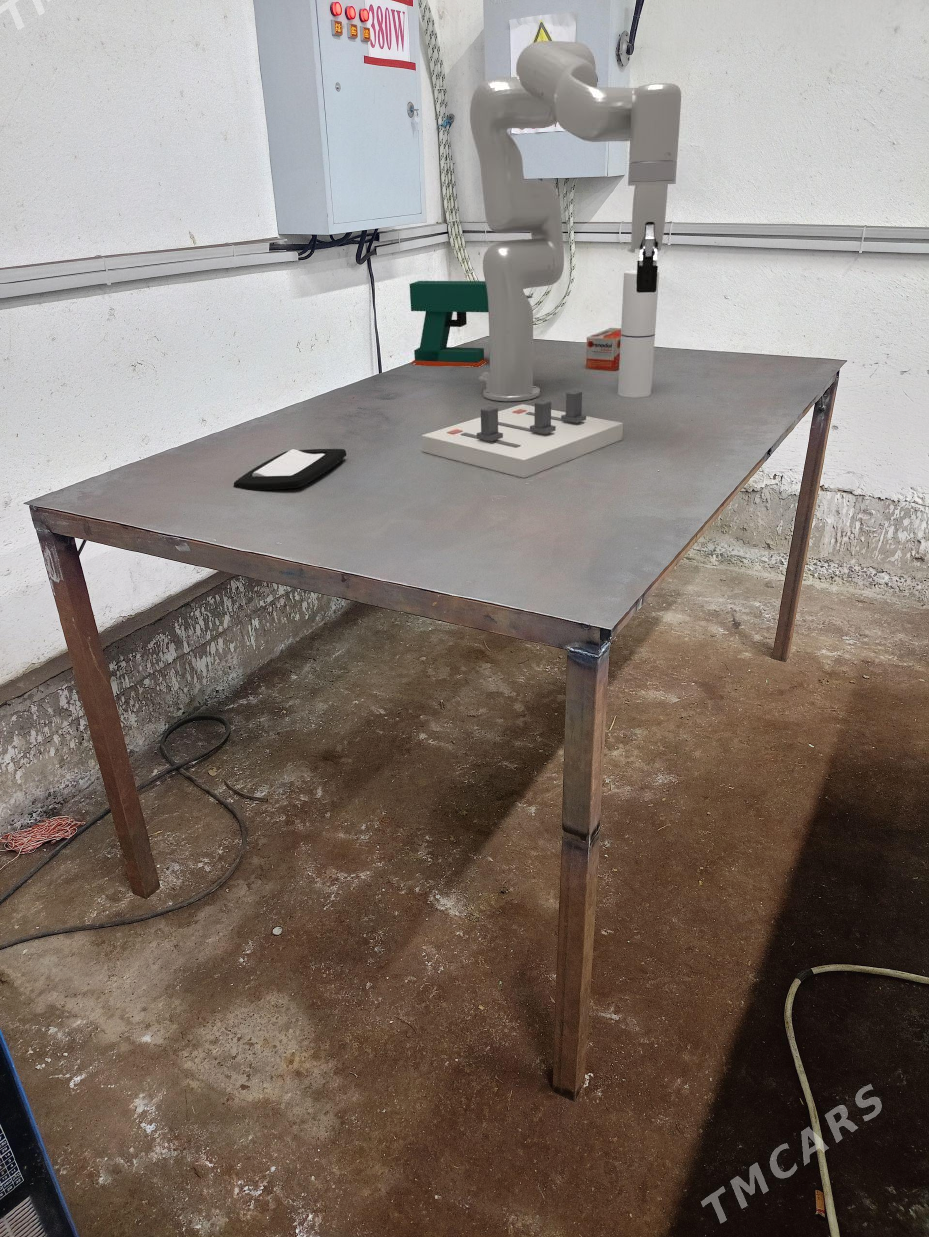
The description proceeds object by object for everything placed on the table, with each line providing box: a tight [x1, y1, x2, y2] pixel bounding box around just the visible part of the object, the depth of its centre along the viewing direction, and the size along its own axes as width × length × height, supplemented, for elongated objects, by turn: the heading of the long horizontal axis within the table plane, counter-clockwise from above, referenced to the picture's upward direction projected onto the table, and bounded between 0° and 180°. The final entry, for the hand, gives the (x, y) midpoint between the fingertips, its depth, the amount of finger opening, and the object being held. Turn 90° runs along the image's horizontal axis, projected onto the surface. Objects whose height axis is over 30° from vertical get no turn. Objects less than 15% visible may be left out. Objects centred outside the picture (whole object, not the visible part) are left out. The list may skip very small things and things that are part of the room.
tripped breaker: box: [477, 406, 503, 441], centre depth 147 cm, size 4×3×5 cm
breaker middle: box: [530, 400, 556, 434], centre depth 150 cm, size 4×3×5 cm
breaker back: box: [561, 390, 587, 423], centre depth 156 cm, size 4×3×5 cm
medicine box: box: [585, 327, 621, 372], centre depth 214 cm, size 15×8×8 cm, turn 148°
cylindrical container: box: [617, 269, 660, 399], centre depth 182 cm, size 7×7×25 cm
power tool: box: [409, 280, 533, 367], centre depth 217 cm, size 32×7×20 cm, turn 71°
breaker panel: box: [421, 403, 624, 479], centre depth 155 cm, size 24×28×3 cm
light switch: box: [233, 448, 348, 491], centre depth 146 cm, size 20×3×14 cm
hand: (645, 288), depth 145 cm, fingers open, 9 cm apart
